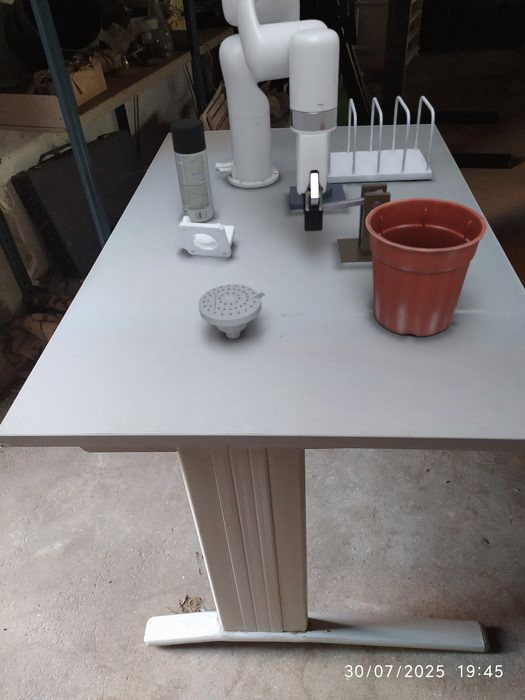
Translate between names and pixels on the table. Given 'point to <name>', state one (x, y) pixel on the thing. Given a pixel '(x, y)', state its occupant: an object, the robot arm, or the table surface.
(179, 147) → the spray can
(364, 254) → the brown lever stand
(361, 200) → the tap lever
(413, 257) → the flower pot
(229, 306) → the showerhead
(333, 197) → the button box
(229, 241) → the mounting bracket
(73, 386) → the table surface
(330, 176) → the file sorter
